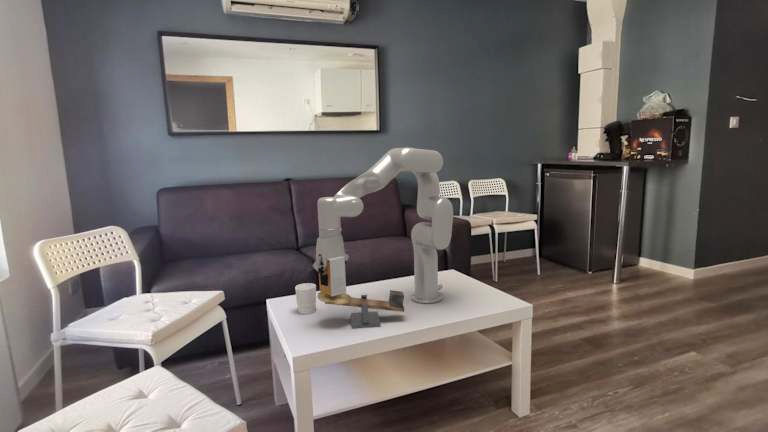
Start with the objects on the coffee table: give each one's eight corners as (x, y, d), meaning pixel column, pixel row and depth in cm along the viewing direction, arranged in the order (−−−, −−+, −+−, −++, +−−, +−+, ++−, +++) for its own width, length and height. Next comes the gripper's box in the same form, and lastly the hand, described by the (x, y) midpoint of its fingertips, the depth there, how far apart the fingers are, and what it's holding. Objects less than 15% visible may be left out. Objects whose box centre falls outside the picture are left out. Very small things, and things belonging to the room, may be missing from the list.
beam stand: (377, 313, 154) (377, 293, 153) (380, 326, 142) (379, 304, 141) (351, 315, 153) (350, 294, 152) (351, 328, 142) (350, 306, 140)
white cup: (307, 316, 154) (306, 290, 152) (292, 312, 158) (290, 287, 157) (321, 309, 160) (320, 284, 159) (306, 306, 165) (305, 282, 163)
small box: (319, 291, 146) (317, 255, 145) (334, 287, 150) (332, 252, 149) (331, 297, 140) (329, 259, 138) (346, 292, 144) (345, 256, 142)
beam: (400, 304, 155) (402, 288, 154) (405, 316, 143) (407, 299, 142) (317, 295, 151) (320, 279, 150) (315, 307, 139) (317, 289, 139)
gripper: (340, 228, 151) (342, 274, 154) (303, 235, 138) (306, 287, 141) (355, 229, 147) (357, 278, 149) (318, 238, 133) (321, 291, 136)
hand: (332, 282), depth 145 cm, fingers closed on small box, 7 cm apart
